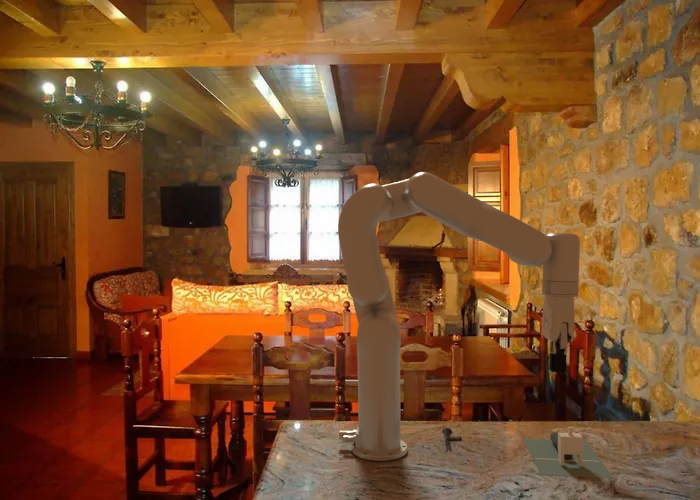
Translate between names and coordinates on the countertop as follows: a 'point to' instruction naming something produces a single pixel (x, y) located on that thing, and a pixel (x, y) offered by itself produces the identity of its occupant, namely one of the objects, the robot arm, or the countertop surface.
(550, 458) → the cutting mat
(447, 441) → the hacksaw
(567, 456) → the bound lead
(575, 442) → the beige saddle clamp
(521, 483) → the countertop surface
